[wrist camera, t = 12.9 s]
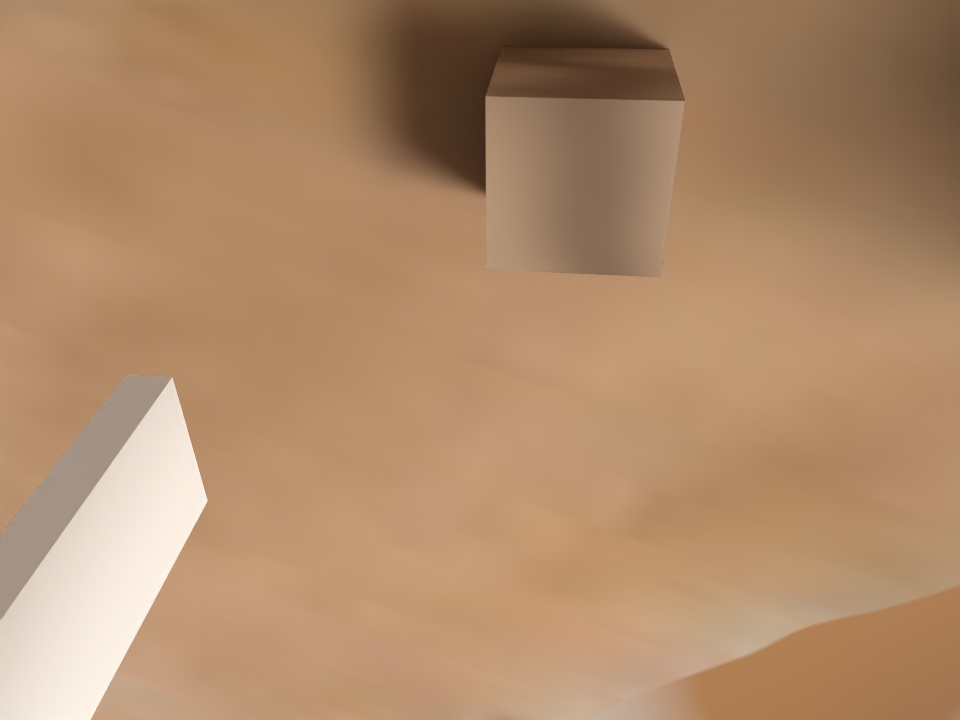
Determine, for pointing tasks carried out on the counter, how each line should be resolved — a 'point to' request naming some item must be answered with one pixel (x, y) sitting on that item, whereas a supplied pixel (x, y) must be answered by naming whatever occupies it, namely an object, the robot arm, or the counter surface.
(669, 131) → the walnut cube
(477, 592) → the counter surface
